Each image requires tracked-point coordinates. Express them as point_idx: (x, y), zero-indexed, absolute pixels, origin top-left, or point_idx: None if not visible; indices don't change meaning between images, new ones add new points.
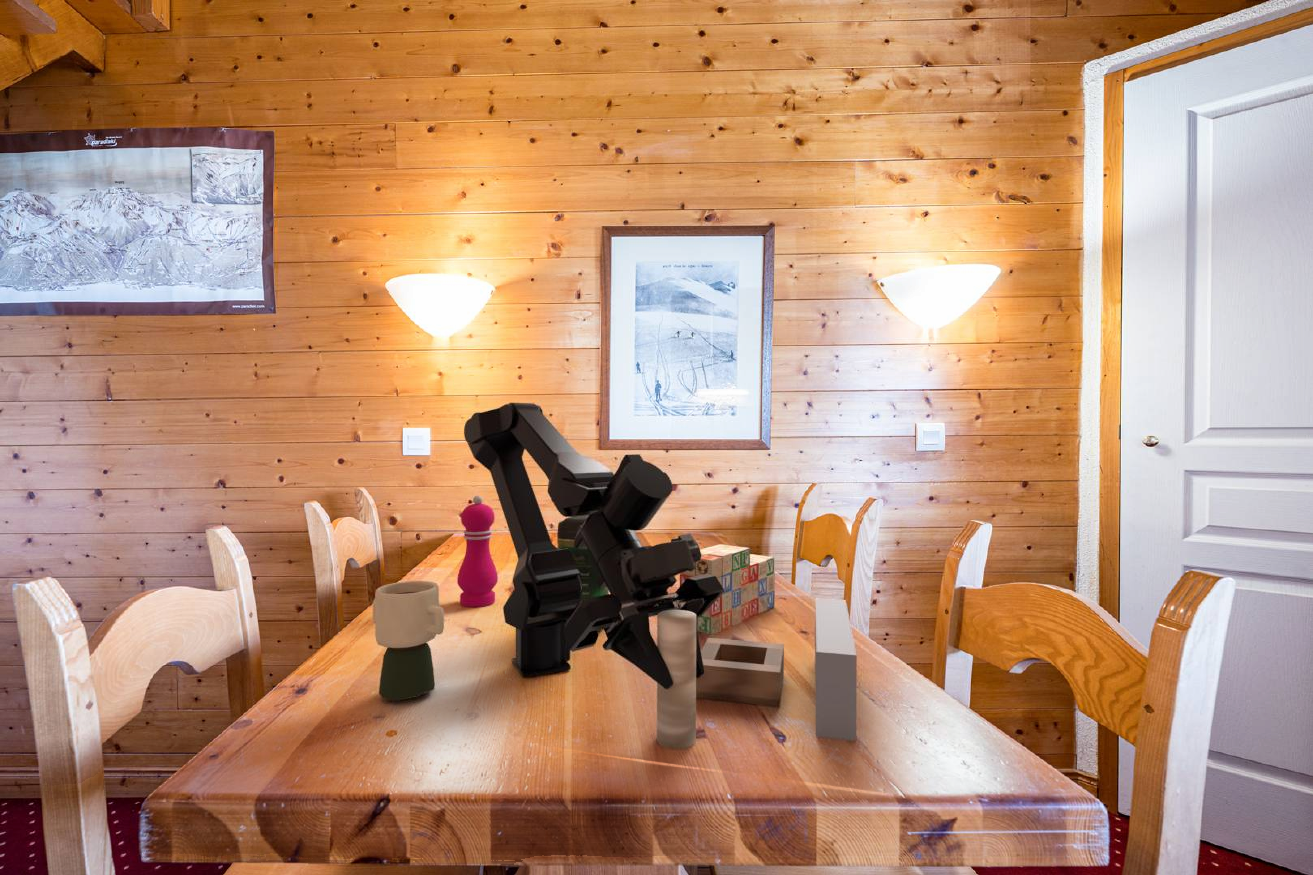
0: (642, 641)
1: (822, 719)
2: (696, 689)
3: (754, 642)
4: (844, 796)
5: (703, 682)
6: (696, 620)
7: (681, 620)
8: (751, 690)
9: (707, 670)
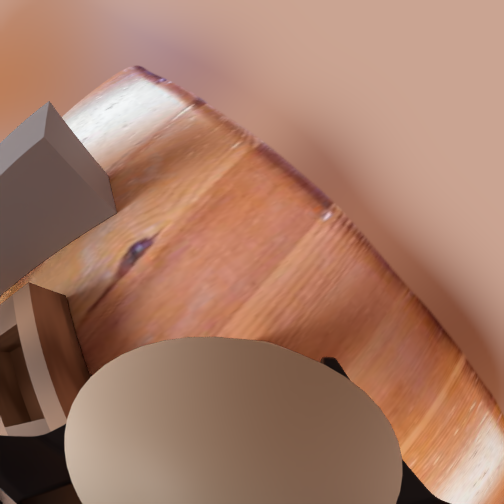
0: (417, 478)
1: (102, 193)
2: None
3: None
4: (228, 131)
5: None
6: (43, 434)
7: (329, 387)
8: (63, 336)
9: None
